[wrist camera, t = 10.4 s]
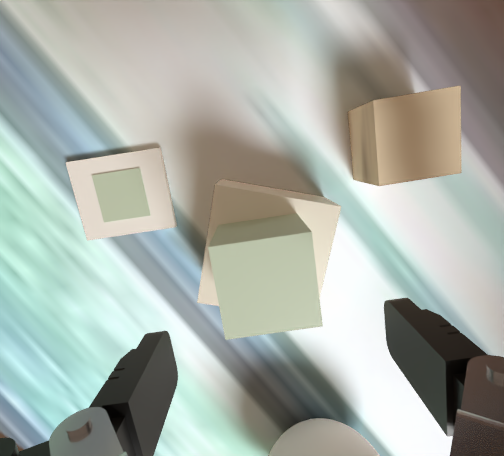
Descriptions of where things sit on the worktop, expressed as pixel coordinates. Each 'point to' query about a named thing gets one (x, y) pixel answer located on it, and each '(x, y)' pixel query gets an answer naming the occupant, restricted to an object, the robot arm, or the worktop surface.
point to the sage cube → (265, 276)
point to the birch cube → (407, 137)
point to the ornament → (322, 440)
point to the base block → (263, 206)
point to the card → (122, 193)
